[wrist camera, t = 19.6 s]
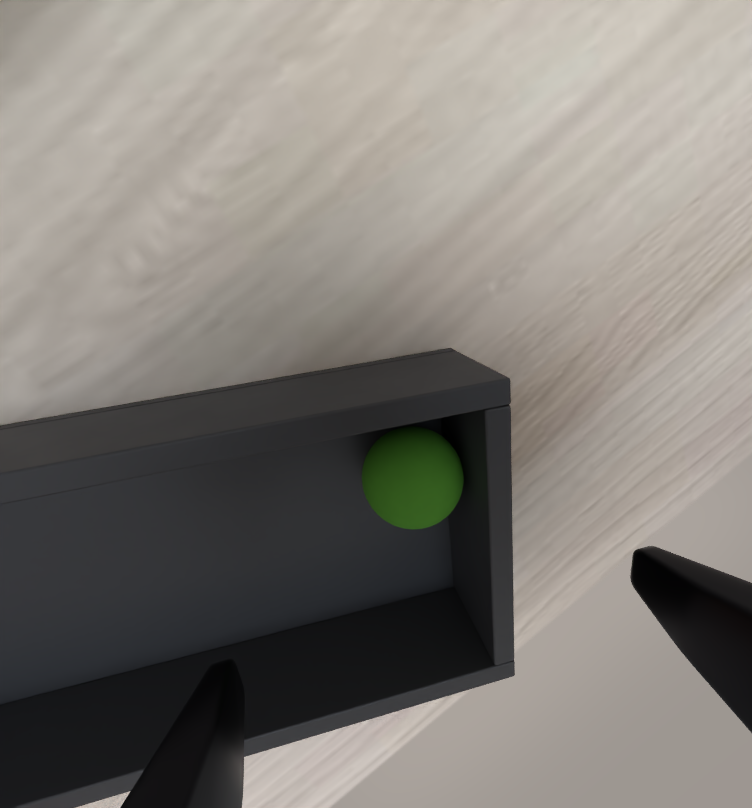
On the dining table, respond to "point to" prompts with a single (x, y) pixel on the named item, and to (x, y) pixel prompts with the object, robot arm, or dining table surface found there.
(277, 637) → the tray
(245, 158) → the dining table surface
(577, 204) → the dining table surface
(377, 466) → the pea
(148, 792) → the robot arm
